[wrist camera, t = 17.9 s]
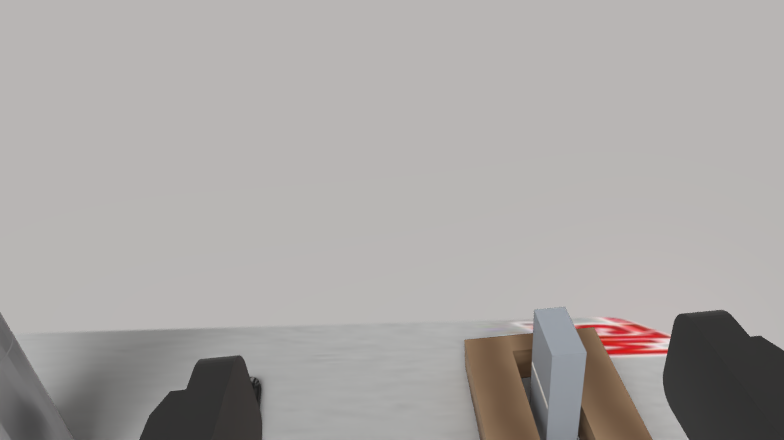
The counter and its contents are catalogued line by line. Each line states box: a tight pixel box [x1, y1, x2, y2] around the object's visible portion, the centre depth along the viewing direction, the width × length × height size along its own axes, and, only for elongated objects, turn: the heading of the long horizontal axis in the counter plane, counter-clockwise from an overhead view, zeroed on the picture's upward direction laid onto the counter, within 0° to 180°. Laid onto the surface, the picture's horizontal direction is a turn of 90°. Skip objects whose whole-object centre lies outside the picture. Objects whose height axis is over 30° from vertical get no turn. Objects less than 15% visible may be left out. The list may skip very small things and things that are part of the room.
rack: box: [464, 327, 652, 440], centre depth 46 cm, size 12×16×4 cm
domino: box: [530, 307, 587, 440], centre depth 44 cm, size 2×5×11 cm, turn 2°
